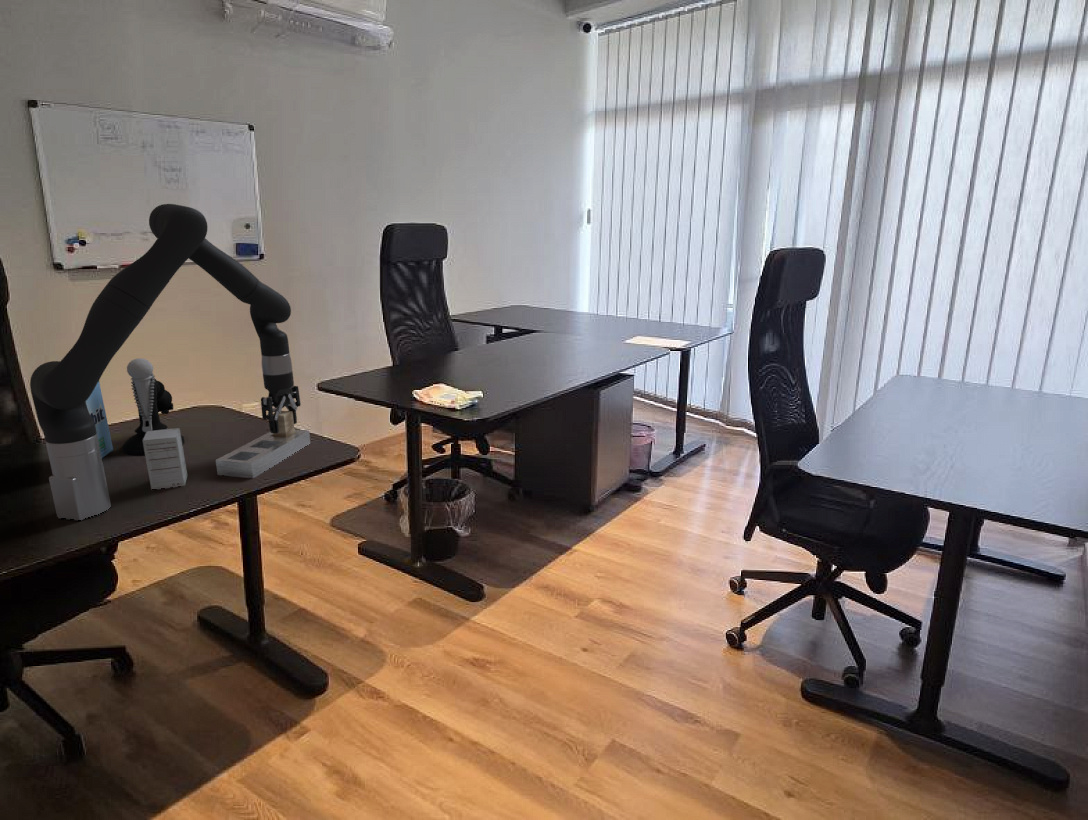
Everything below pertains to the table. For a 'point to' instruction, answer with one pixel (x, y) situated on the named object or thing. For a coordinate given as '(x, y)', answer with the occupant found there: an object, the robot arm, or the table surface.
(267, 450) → the grey slotted tray
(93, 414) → the gum box
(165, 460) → the supplement box
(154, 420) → the sculpture
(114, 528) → the table surface
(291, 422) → the maple block
